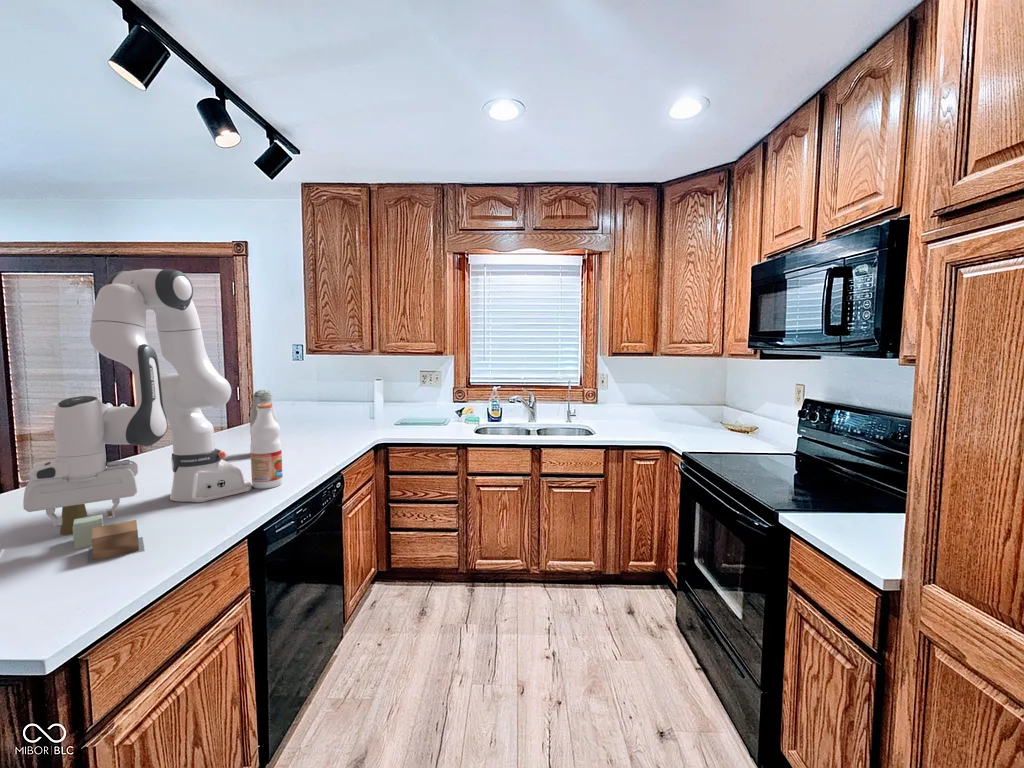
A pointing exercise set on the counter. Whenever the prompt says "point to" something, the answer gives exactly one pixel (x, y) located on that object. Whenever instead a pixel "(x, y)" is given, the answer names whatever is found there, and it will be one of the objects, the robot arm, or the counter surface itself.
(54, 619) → the counter surface
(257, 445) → the fruit juice
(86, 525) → the sage block
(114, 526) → the walnut base block
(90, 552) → the slate coaster
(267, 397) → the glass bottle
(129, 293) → the robot arm
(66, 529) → the cork
